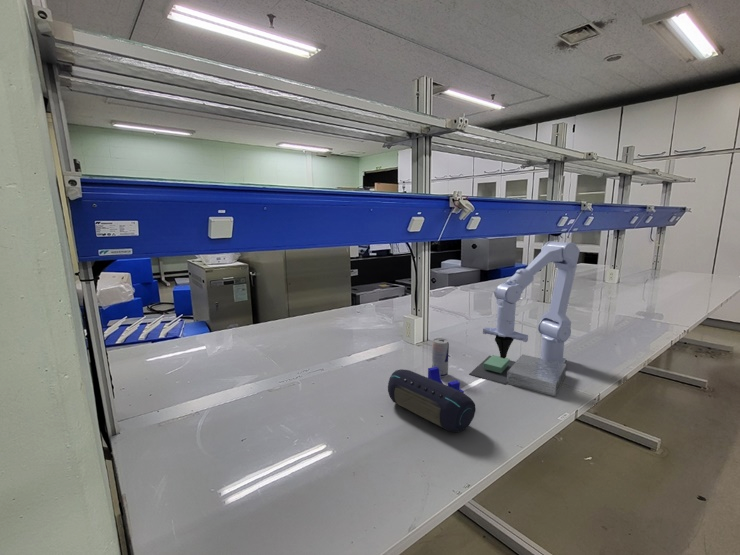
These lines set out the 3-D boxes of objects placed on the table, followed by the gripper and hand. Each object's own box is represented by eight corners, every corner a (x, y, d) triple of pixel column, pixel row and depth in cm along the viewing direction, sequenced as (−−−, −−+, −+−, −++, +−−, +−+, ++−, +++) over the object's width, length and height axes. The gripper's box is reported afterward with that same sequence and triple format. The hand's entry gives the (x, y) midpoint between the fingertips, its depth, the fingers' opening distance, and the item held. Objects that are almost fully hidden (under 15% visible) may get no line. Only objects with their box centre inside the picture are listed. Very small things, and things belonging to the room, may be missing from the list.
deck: (521, 364, 126) (522, 354, 125) (565, 375, 118) (566, 364, 117) (506, 383, 112) (507, 371, 111) (554, 396, 104) (556, 384, 103)
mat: (489, 356, 134) (489, 355, 134) (522, 363, 127) (522, 363, 127) (469, 374, 119) (469, 373, 118) (505, 384, 111) (505, 383, 111)
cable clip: (463, 400, 102) (464, 381, 101) (450, 404, 100) (451, 384, 99) (439, 383, 113) (440, 365, 112) (427, 386, 111) (428, 368, 110)
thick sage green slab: (509, 358, 124) (509, 366, 124) (492, 354, 128) (492, 361, 128) (501, 367, 117) (500, 375, 117) (483, 363, 121) (483, 370, 121)
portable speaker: (381, 404, 100) (381, 371, 98) (404, 392, 107) (404, 361, 105) (456, 445, 82) (458, 405, 80) (478, 427, 89) (480, 391, 87)
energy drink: (449, 373, 120) (451, 339, 118) (444, 379, 115) (445, 344, 113) (434, 370, 122) (435, 337, 120) (429, 375, 118) (430, 341, 116)
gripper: (480, 318, 120) (478, 355, 122) (525, 325, 111) (522, 366, 113) (487, 313, 125) (485, 349, 127) (530, 320, 116) (528, 359, 119)
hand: (503, 357), depth 121 cm, fingers closed
